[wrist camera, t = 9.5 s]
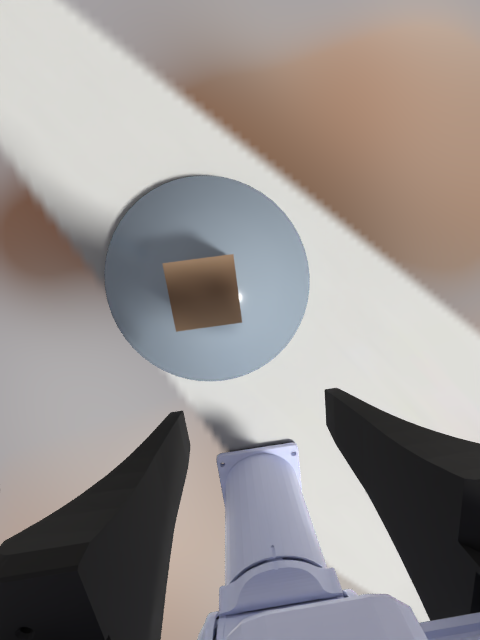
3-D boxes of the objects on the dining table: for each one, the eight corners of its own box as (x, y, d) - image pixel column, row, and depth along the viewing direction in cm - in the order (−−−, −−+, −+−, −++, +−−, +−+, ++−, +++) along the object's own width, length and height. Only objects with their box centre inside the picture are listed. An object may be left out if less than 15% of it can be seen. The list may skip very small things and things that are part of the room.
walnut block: (238, 308, 19) (242, 322, 14) (188, 314, 19) (175, 331, 14) (231, 257, 18) (233, 254, 13) (179, 264, 18) (162, 263, 13)
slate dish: (311, 362, 21) (314, 367, 20) (136, 387, 21) (131, 393, 20) (298, 168, 18) (302, 162, 17) (86, 194, 17) (78, 190, 16)
